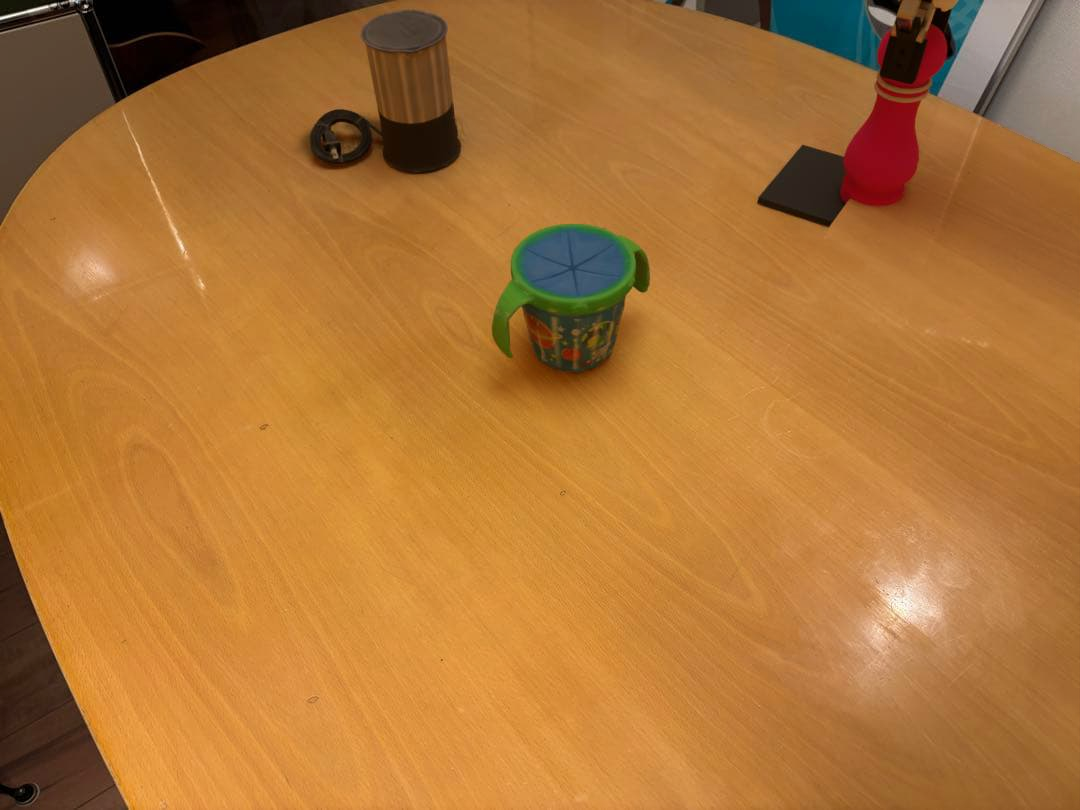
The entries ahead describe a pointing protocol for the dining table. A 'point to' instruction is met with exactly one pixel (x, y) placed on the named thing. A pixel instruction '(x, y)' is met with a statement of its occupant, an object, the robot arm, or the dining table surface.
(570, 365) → the snack cup
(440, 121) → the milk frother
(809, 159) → the mat
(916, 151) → the pepper mill
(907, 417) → the dining table surface
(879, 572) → the dining table surface
